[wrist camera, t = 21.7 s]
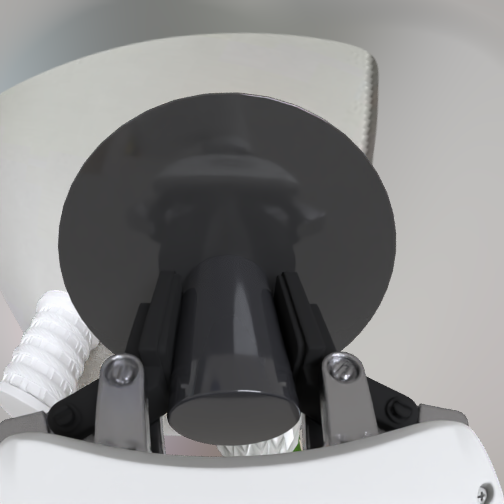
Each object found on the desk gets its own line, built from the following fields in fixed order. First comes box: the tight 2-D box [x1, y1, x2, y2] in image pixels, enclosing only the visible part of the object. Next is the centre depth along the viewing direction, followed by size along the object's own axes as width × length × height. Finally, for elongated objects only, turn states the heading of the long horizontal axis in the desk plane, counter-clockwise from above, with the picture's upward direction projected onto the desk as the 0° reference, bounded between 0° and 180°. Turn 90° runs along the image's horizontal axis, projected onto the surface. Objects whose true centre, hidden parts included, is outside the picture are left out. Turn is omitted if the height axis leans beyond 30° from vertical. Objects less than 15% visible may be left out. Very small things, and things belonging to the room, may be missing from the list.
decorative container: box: [0, 290, 99, 418], centre depth 27 cm, size 12×12×18 cm
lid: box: [58, 93, 396, 446], centre depth 10 cm, size 15×15×7 cm
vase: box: [216, 412, 302, 457], centre depth 35 cm, size 16×16×18 cm
